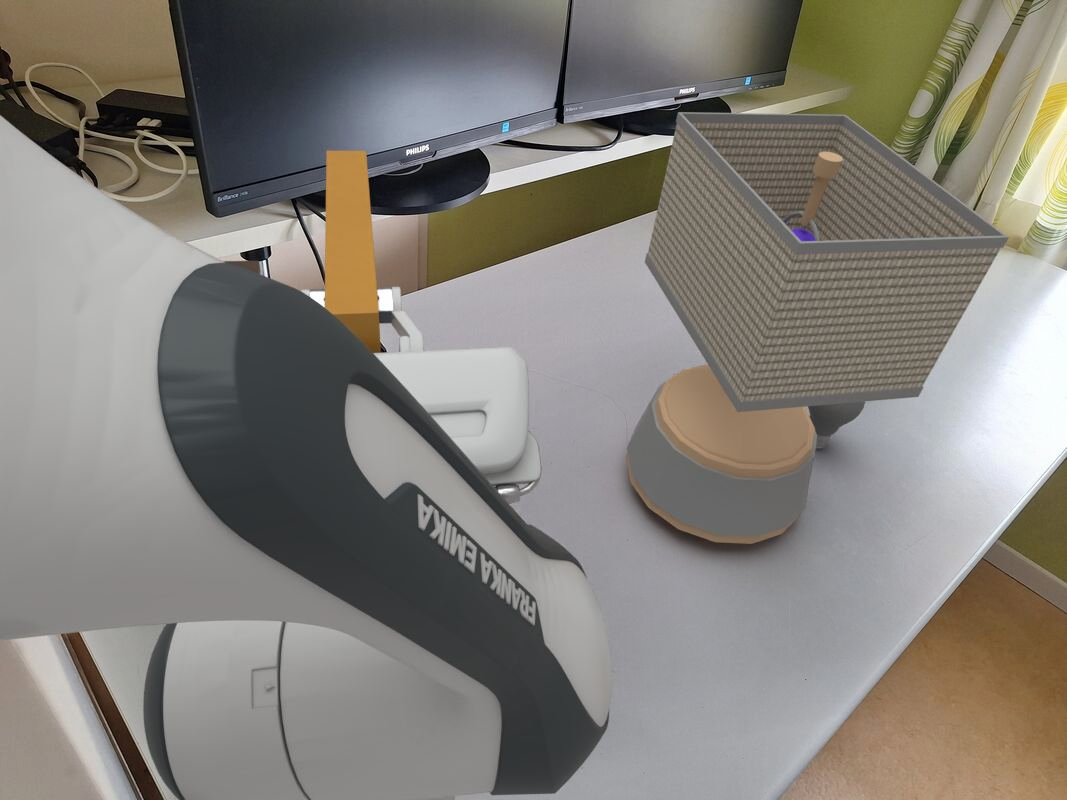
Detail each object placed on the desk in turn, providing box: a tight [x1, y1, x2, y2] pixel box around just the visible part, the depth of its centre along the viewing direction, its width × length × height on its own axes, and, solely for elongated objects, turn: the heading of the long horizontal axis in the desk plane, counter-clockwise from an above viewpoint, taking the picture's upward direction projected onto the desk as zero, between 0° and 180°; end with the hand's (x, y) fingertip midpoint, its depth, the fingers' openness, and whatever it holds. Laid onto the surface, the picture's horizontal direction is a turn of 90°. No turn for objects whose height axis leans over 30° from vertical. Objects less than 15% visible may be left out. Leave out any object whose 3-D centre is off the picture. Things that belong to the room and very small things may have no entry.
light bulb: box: [807, 401, 866, 449], centre depth 85 cm, size 6×6×10 cm
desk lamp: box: [625, 111, 1010, 545], centre depth 69 cm, size 22×19×37 cm
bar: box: [324, 150, 382, 353], centre depth 52 cm, size 3×22×3 cm, turn 12°
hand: (351, 291), depth 46 cm, fingers closed on bar, 3 cm apart
